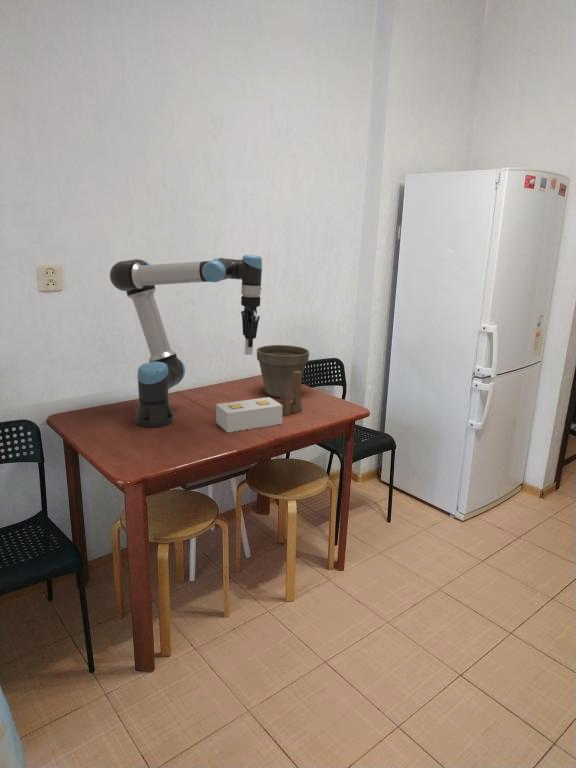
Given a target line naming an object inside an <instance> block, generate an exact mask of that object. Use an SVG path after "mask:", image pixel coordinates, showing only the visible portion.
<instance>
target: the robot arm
mask: <svg viewBox="0 0 576 768" xmlns="http://www.w3.org/2000/svg"><path fill="white" fill-rule="evenodd" d="M109 271H110V272H109V278H110V280H109V281H110V282H111V284H112V285H113V287H114V288H116V289H117V290H119V291H121V292H122V291H123V292H125V293H126V295H127V298H129V299H131V300H132V301H133V305H134V307H135V311H136V313H137V317H138V320H139V323H140V326H141V330H142V331H143V335H144V336H143V337H144V338H145V341H146V344H147V345H146V346H147V348H148V351H149V354H150V357H149V359H148V362H145V363H143V364H141V365H140V366H139V367H138V369H137V377H136V378H137V386H138V387H137V388H138V389H137V390H138V406H137V409H136V413H135V417H134V418H135V424H136V425H138V426H141V427H146V428H158V427H165V426H168V425H170V424H172V423H173V422H174V420H175V419H174V417H175V415H174V412H173V410H172V407H171V405H170V400H169V399H170V398H169V396H170V395H169V390H170V389H172V388H173V387H175V386H177V385H178V384H179V383H181V381H182V380H183V379H184V377H185V374H186V367H185V364H184V362H183V361H182V360H181V359H179V358H178V356H177V352H176V351H174V350H172V348H171V346H170V342H169V339H168V336H167V333H166V330H165V327H164V323H163V320H162V317H161V314H160V310H159V307H158V304H157V301H156V299H155V295H154V294H155V292H156V286H159V285H177V284H191V283H193V284H194V283H208V282H209V283H218V282H221V281H224V280H229V279H230V280H231V279H232V280H241V288H240V289H241V291H240V293H241V297H240V300H241V301H240V305H241V306H243V307H244V309H243V310H241V312H240V315H241V321H242V323H241V325H242V335H243V336H244V355H245V356H252V355H253V353H254V352H253V349H254V347H253V346H254V339H256V338H257V333H258V327H259V322H260V319H261V318H260V317H261V316H260V315H257V314H258V312H257V311H258V310H257V308H258V307H260V306H261V294H262V293H261V291H262V289H263V288H262V273H263V258H262V257H261V256H260V255H255V254H254V255H253V254H244V255H242V259H233V258H224V257H220V258H219V257H217V258H216V257H215V258H213V260H206V261H205V260H204V261H190V262H186V261H185V262H175V263H174V262H173V263H160V264H159V263H158V264H151V263H149V261H146V260H143V259H140V258H139V259H137V258H136V259H130V260H121V261H118V262H116V263H115V264H114V265H112V267H111V269H110V270H109Z"/></svg>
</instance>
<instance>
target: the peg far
mask: <svg viewBox="0 0 576 768" xmlns="http://www.w3.org/2000/svg"><path fill="white" fill-rule="evenodd" d="M256 403H257V404H258V405H268V404H269V403H268V402H267V401H258V402H256Z"/></svg>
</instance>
